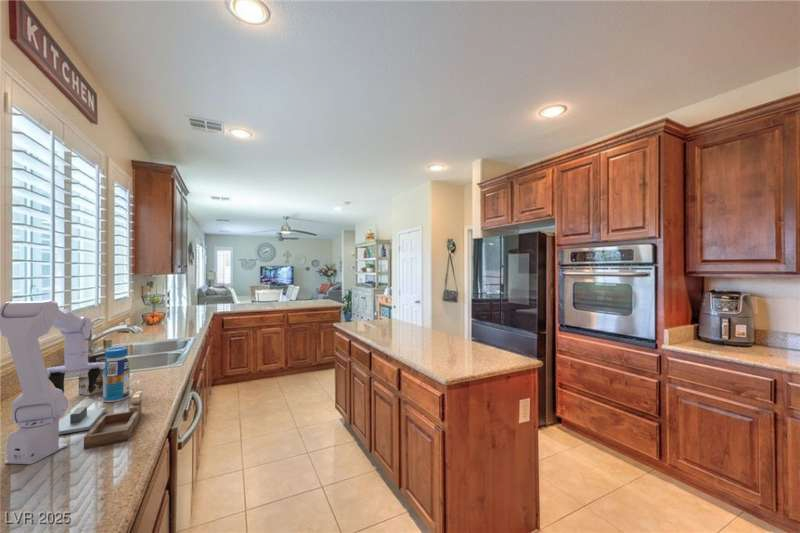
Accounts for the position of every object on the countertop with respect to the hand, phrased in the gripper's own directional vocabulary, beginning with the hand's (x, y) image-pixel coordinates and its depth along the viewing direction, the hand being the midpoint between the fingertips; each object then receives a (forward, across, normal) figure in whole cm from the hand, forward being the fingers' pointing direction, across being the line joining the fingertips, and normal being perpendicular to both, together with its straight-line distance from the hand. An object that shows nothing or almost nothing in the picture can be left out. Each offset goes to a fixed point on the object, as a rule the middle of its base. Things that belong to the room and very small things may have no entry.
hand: (76, 392), depth 112 cm
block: (+6, -17, 0) cm, 18 cm away
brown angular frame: (+10, -13, +11) cm, 20 cm away
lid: (+10, -1, 0) cm, 10 cm away
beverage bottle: (+11, -6, -21) cm, 24 cm away
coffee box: (+11, +5, -35) cm, 37 cm away
